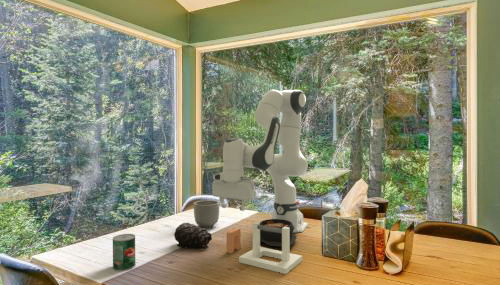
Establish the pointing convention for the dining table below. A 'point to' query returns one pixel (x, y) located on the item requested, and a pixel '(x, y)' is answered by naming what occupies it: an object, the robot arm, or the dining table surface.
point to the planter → (206, 213)
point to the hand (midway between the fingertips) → (233, 209)
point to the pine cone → (192, 236)
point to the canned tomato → (123, 252)
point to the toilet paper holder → (271, 251)
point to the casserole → (275, 237)
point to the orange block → (233, 240)
